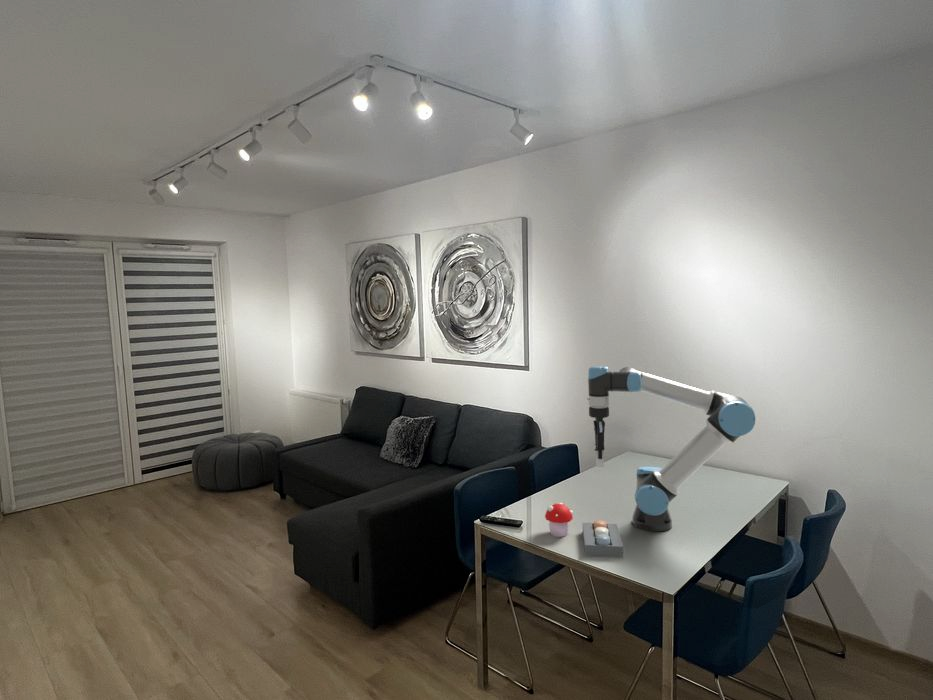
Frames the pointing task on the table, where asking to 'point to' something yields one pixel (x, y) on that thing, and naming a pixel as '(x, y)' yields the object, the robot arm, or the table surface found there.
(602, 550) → the grey button tray
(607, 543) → the button slate
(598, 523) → the button terracotta
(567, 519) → the mushroom
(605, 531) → the button ivory
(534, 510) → the table surface
